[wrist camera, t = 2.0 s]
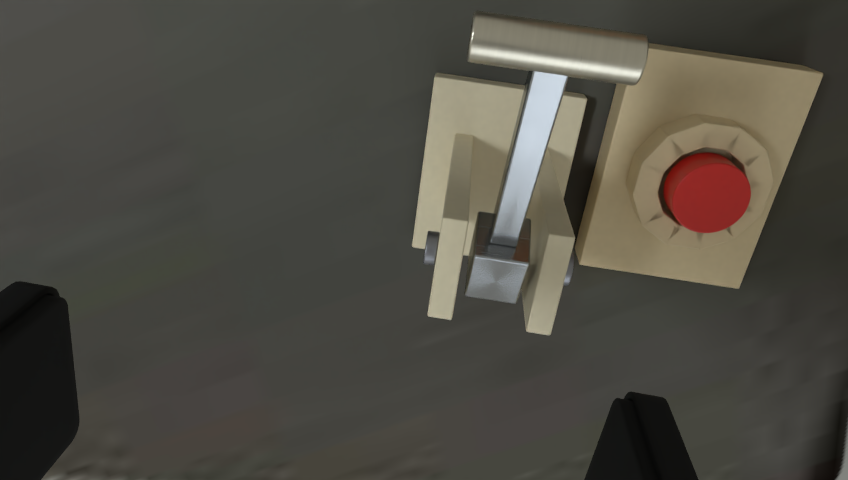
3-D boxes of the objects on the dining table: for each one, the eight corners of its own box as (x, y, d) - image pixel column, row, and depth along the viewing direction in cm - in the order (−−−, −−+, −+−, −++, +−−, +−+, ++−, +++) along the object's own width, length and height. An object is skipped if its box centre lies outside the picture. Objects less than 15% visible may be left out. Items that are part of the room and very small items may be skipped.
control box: (627, 39, 33) (645, 52, 29) (804, 65, 32) (844, 80, 29) (574, 248, 38) (583, 280, 34) (725, 271, 38) (751, 306, 34)
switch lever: (476, -9, 19) (469, 37, 17) (645, 16, 19) (653, 64, 17) (437, 247, 28) (430, 291, 27) (550, 264, 28) (549, 309, 26)
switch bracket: (435, 72, 34) (411, 139, 23) (584, 93, 34) (636, 172, 22) (413, 239, 38) (383, 367, 27) (545, 259, 38) (572, 396, 27)
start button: (675, 146, 31) (685, 157, 29) (748, 157, 31) (763, 169, 29) (654, 214, 33) (662, 227, 31) (724, 224, 33) (736, 238, 31)
